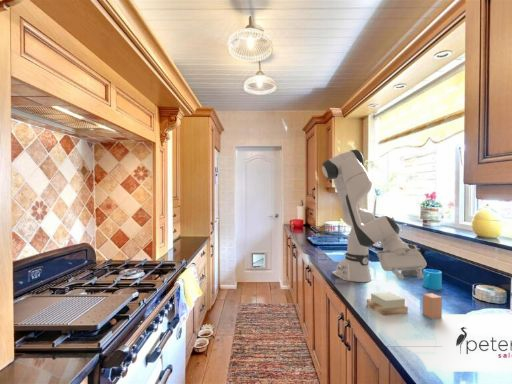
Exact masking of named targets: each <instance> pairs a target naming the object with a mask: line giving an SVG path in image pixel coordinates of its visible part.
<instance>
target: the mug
mask: <svg viewBox="0 0 512 384" xmlns="http://www.w3.org/2000/svg"><path fill="white" fill-rule="evenodd" d="M442 273H443V272H442V271H441V270H438V269H431V268H424V269H422V274H423V278H422V286H423V287H424V288H426V289H429V290H436V291H437V290H442V288H443V287H442V284H443V283H442V280H443V274H442Z"/></svg>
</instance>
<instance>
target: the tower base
mask: <svg viewBox="0 0 512 384" xmlns="http://www.w3.org/2000/svg"><path fill="white" fill-rule="evenodd" d="M366 306H368V307H369V308H371V309H372V310H374V311H376V312H377V313H379V314H381V315H382V316H391V315H400V314H402V315H403V314H408V308H409V307H408V306H406V305H405V306H404V307H395V308H384V307H382V306H380V305H379V304H377V303H375V302H373V301H371V298H369V299H368V298H367V299H366Z"/></svg>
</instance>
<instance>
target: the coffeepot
mask: <svg viewBox="0 0 512 384" xmlns="http://www.w3.org/2000/svg"><path fill="white" fill-rule="evenodd" d="M416 251H418V252H420V253H421V255H422V256H423V257H424V256H425V253H426V250H425V249H424V248H422V247H417V250H416ZM400 274H403V276H406V277H412V278H413V277H417V274H418V271H416V270H400Z"/></svg>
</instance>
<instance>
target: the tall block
mask: <svg viewBox="0 0 512 384" xmlns="http://www.w3.org/2000/svg"><path fill="white" fill-rule="evenodd" d="M442 300H443V299H442V296H440V295H438V294H435V293H433V292H432V293H431V292H430V293H423V294H422V315H424V316H425V317H427V318H429V319H431V320H435V319H441V318H442V311H443V310H442V309H443V308H442V307H443V306H442V305H443V304H442V303H443V301H442Z"/></svg>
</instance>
